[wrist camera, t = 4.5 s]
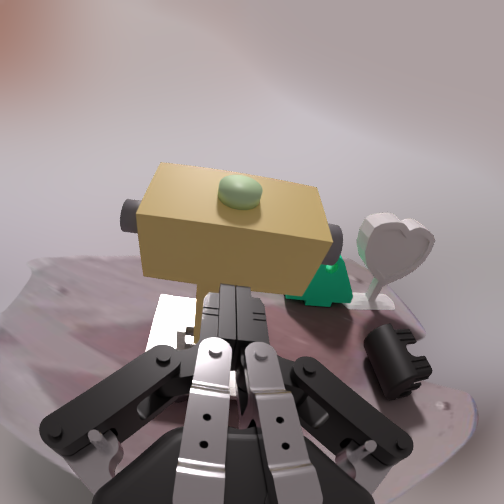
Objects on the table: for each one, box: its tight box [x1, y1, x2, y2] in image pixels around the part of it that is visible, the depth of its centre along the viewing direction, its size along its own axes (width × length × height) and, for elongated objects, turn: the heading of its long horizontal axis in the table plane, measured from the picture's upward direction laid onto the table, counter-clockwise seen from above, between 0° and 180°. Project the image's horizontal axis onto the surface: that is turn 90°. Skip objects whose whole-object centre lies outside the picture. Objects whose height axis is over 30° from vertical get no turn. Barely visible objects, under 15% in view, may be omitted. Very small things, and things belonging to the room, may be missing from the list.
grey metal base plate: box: [146, 294, 237, 402], centre depth 33 cm, size 15×15×6 cm
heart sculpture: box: [342, 213, 435, 310], centre depth 47 cm, size 16×5×18 cm, turn 96°
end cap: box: [364, 324, 432, 400], centre depth 35 cm, size 10×7×7 cm
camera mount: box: [285, 255, 353, 307], centre depth 48 cm, size 12×8×10 cm, turn 91°
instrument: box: [120, 162, 343, 344], centre depth 25 cm, size 16×6×20 cm, turn 93°
